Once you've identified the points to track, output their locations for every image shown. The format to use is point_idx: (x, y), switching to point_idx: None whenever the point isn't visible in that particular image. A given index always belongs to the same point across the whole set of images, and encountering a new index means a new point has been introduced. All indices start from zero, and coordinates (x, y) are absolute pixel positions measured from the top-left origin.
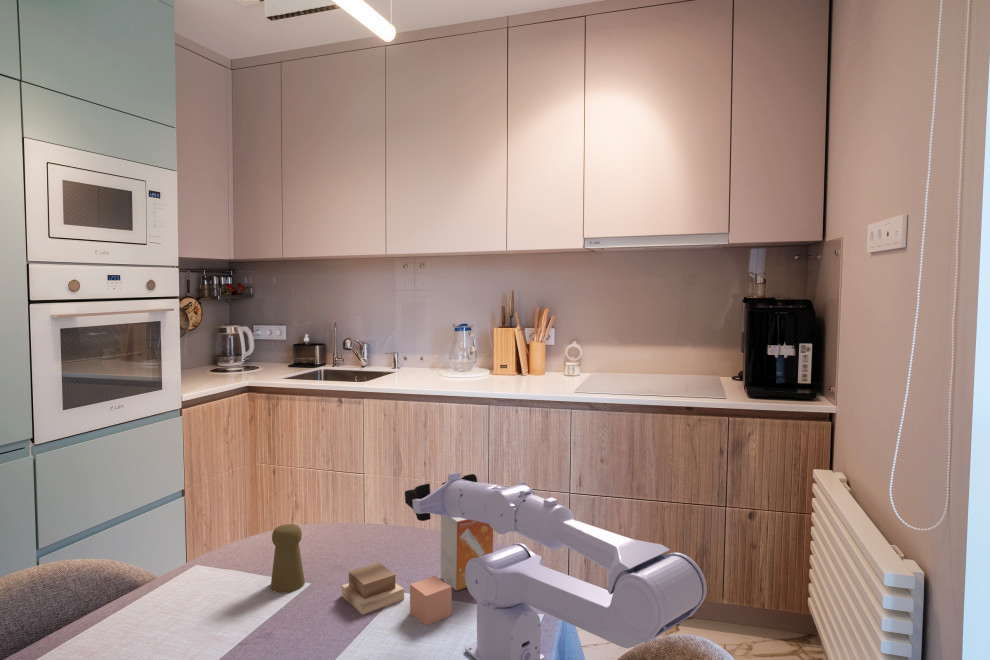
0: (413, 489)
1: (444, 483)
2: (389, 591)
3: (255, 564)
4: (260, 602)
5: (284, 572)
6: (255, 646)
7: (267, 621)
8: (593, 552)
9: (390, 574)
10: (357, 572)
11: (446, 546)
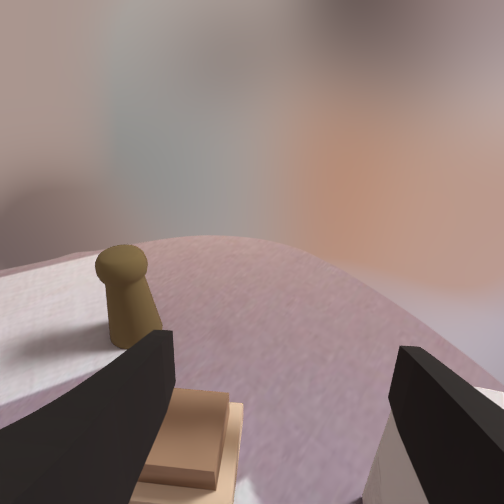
0: (132, 365)
1: (409, 361)
2: (195, 494)
3: (156, 274)
4: (74, 347)
5: (112, 319)
6: None
7: (22, 400)
8: None
9: (206, 461)
10: None
11: (385, 481)
